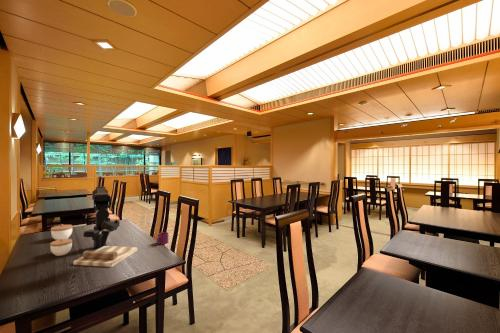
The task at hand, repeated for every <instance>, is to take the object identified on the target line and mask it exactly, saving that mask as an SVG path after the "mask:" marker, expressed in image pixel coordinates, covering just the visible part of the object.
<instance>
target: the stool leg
mask: <svg viewBox="0 0 500 333" xmlns="http://www.w3.org/2000/svg"><path fill="white" fill-rule="evenodd" d="M82 257H83V258H94V259H112V260H114V259H115V258H117V252H102V251H95V250H85V251H83V252H82Z"/></svg>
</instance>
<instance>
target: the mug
mask: <svg viewBox="0 0 500 333" xmlns="http://www.w3.org/2000/svg"><path fill="white" fill-rule="evenodd" d="M156 241H157V242H156V243H158V244H159V245H167V244H168V243H169V232H166V231H163V232H159V233H158V236H157V239H156Z"/></svg>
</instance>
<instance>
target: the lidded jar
mask: <svg viewBox="0 0 500 333" xmlns="http://www.w3.org/2000/svg"><path fill="white" fill-rule="evenodd" d="M49 245H50V252H51V253H52V254H53V255H54V256H57V257H59V256H65V255H67V254H68V253H69V252H70V251H71V250H72V246H73V238H68V239H60V240H53V241H52V242H50V243H49Z"/></svg>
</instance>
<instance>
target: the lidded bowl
mask: <svg viewBox="0 0 500 333" xmlns="http://www.w3.org/2000/svg"><path fill="white" fill-rule="evenodd" d="M72 233H73V225H72V224H63V223H60V225H55V226H52V227H51V228H50V234H51V238H52V239H54V241H56V240H60V239H69V238H70V237H71V235H72Z"/></svg>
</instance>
